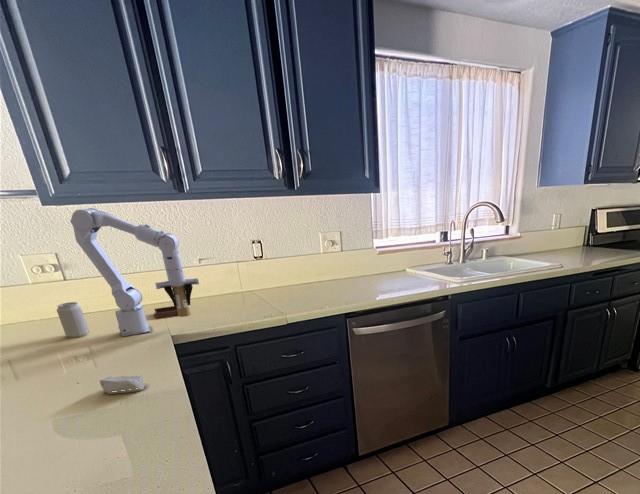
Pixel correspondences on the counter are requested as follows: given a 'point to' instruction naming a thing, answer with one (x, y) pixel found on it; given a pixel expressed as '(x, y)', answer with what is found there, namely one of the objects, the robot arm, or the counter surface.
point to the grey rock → (122, 384)
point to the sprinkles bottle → (181, 300)
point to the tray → (166, 312)
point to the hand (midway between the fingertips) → (182, 305)
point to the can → (72, 319)
